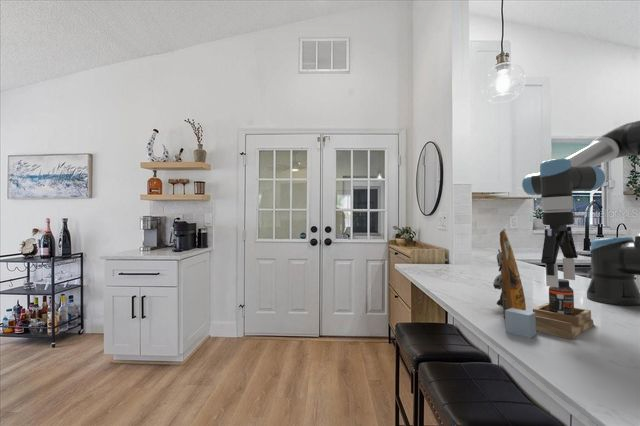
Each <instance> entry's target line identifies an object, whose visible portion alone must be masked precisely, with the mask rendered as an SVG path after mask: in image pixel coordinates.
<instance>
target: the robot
mask: <svg viewBox="0 0 640 426" xmlns="http://www.w3.org/2000/svg"><path fill="white" fill-rule="evenodd" d="M497 251H498V253H497V254H496V260H497V266H498V267H499V268H498V272H500V274H498V275H497V276H496V277H495V278H494V281H493V284H492V285H493V288H494V289H495V290H496V289H497V290H502V260H503V255H502V250H501V249H498V250H497ZM496 304H497V305H498V306H501V307H503V302H502V291H501V292H500V296H499V299H498V300H497V301H496Z"/></svg>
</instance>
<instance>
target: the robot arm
mask: <svg viewBox="0 0 640 426" xmlns="http://www.w3.org/2000/svg"><path fill="white" fill-rule="evenodd" d="M634 155H636V158H638V159H639V160H640V120H637V121H632V122H629V123H624V124H623V125H620V126H618V127H615V128H613V129H612V130H610V131H607V132H606V133H604V134H601V135H600V136H597V137H596V138H595V139H593V140H592V141H590V143H589V145H588V146H586V147H584V148H582V149H580V150H579V151H577V152H574V153H573V154H571V155H569V156H568V157H566V158H554V159H549V160H544V161H542V162H541V163H540V165H539V172H536V173H531V174H527V175H526V176H525V177H524V178H523V179H522V183H521V186H522V189H523V191H524V192H525V193H526V194H527V195H529V196H535V195H536V196H540V195H541V201H539V204H540V205H541V210H542V212H543V213H542V215H541V217H542V219H541V220H542V224H543V225H544V226H549V228H545V229H544V237H543V239H544V240H543V247H542V251H541V253H542V255H541V261H540V262H541V264H545V266H544V267H545V281H546V287H559V284H558V279H559V270H558V263H557V258H558V255H559V250H561V253H562V255H563V257H562V270H563V271H562V272H563V279H565V280H571V281H575V280H576V270H575V269H576V268H575V259H578V257H579V256H578V253H577V249H576V245H575V242H574V237H573V233H572V232H573V231H572V226H570V225H573V224H574V223H575V219H574V217H575V214H574V212H573V210H574V197H573V192H590V191H595V190H598V189H599V188H601V187H602V186H603V185H604V183H605V182H606V174H605V172H604V170H602V169H601V168H600V167H598V165H601V164H602V163H608V162H611V161H613V160H615V159H619V158H623V157H628V156H634ZM589 251H590V261H591V262H590V263H591V264H590V265H591V279H590V282H589V285H588V286H587V290H586V298H587V299H589V300H592V301H595V302H598V303H599V302H600V303H604V304H610V305H621V306H638V305H640V289H639V287H638V285H637V283H636V281H635V279H636V278H635V276H640V232H638V233H637V234H635V236H634V238H633V237H631V236H624V237H623V236H620V237H611V238H610V237H605V238H595V239H592V241H591V242H590V250H589Z"/></svg>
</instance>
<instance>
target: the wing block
mask: <svg viewBox="0 0 640 426" xmlns="http://www.w3.org/2000/svg"><path fill="white" fill-rule="evenodd" d="M504 319H505V320H504V321H505V322H504V323H505V333H509V334H513V335H517V336H519V337H524V338H529V339H531V338H532V337H535V336H536V335H537V331H536V317H535V312H533V311H531V310H520V309H515V308H510V309H507V310H505V318H504Z"/></svg>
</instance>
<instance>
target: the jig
mask: <svg viewBox="0 0 640 426" xmlns="http://www.w3.org/2000/svg"><path fill="white" fill-rule="evenodd" d="M532 312H535V317H536V332H539V333H544V334H547V335H552V336H556V337H560V338H564V339H565V338H566V339H568V340H573V339H575V338H576V337H577V336H579V335H581V334H582V333H583V332H585V331H587V330H588V329H589V328H591V327H592V326H594V319H593V318H592V312H591V309H585V308H579V307H574V316H570V315H565V314H560V313H555V312H549V302H546V303H544V304H541V305H539V306H536V307H534V308H532Z"/></svg>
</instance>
